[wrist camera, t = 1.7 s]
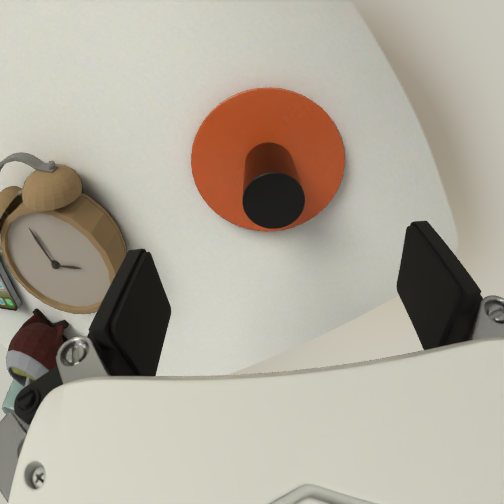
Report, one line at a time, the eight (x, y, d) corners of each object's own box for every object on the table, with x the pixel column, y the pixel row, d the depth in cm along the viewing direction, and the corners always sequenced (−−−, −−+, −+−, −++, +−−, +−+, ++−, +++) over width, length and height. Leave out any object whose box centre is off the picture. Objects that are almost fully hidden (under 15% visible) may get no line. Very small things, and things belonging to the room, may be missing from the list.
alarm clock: (51, 321, 26) (-49, 207, 15) (66, 282, 29) (-19, 171, 19) (143, 307, 24) (30, 148, 14) (153, 262, 27) (66, 115, 17)
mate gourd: (48, 299, 28) (-12, 417, 16) (94, 346, 32) (55, 460, 20) (18, 313, 30) (-33, 412, 17) (59, 354, 34) (22, 452, 22)
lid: (181, 99, 18) (150, 118, 12) (337, 82, 17) (373, 94, 12) (208, 230, 23) (195, 288, 18) (340, 217, 23) (365, 272, 17)
